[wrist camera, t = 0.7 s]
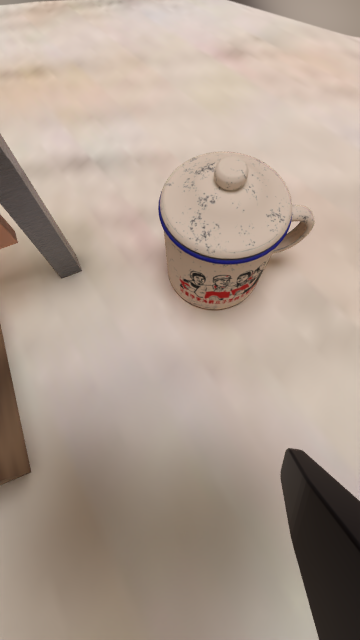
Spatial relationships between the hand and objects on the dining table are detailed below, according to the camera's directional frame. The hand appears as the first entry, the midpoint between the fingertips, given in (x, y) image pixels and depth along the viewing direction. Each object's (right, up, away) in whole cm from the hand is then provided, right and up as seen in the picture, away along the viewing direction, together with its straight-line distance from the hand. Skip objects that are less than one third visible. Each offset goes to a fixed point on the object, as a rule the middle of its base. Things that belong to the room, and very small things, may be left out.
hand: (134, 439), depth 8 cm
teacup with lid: (+6, +9, +19) cm, 22 cm away
